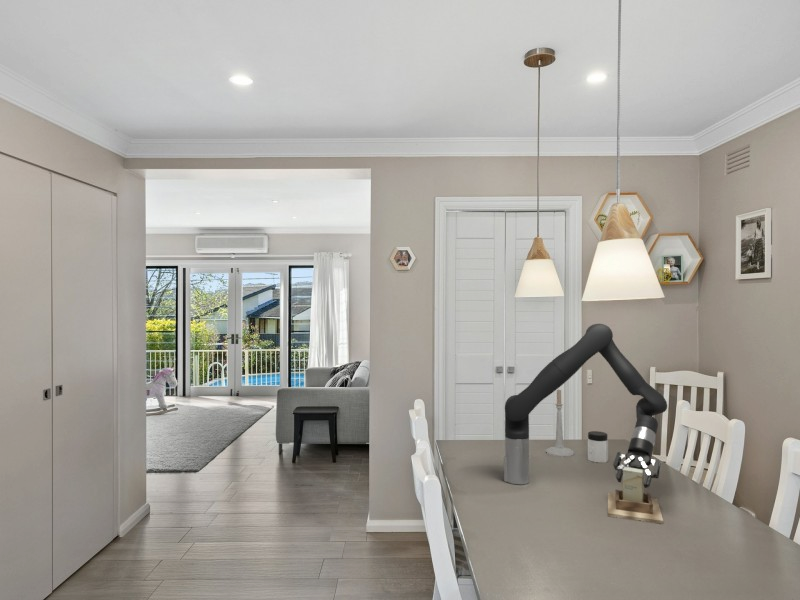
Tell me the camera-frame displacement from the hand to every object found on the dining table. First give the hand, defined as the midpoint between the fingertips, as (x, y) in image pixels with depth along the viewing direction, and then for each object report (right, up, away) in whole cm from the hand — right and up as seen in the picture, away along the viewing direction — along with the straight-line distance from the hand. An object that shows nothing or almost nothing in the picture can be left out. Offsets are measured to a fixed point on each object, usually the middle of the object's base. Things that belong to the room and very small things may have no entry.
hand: (631, 483), depth 170 cm
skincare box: (+1, -8, +1) cm, 8 cm away
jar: (+11, -10, +57) cm, 59 cm away
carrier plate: (+1, -9, +1) cm, 9 cm away
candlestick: (-3, -11, +69) cm, 70 cm away
